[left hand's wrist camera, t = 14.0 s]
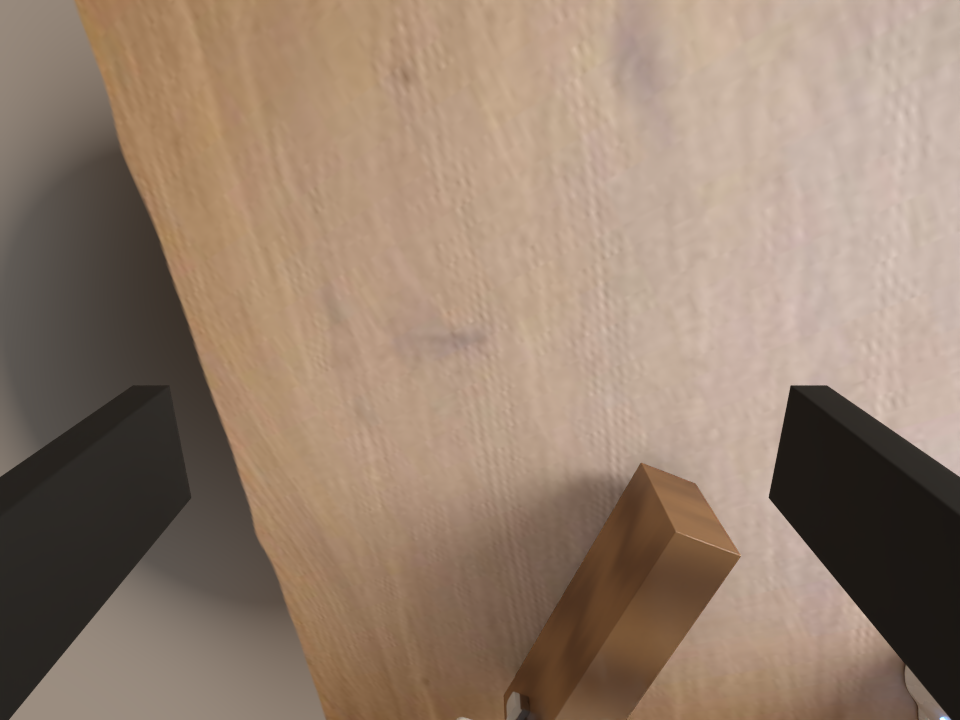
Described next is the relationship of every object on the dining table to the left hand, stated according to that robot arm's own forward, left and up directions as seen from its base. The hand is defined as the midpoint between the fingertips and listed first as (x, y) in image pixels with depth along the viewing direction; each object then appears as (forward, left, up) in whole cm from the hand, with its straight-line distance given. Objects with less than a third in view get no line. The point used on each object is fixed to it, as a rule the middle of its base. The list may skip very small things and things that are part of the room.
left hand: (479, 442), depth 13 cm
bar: (+32, +10, -31) cm, 46 cm away
